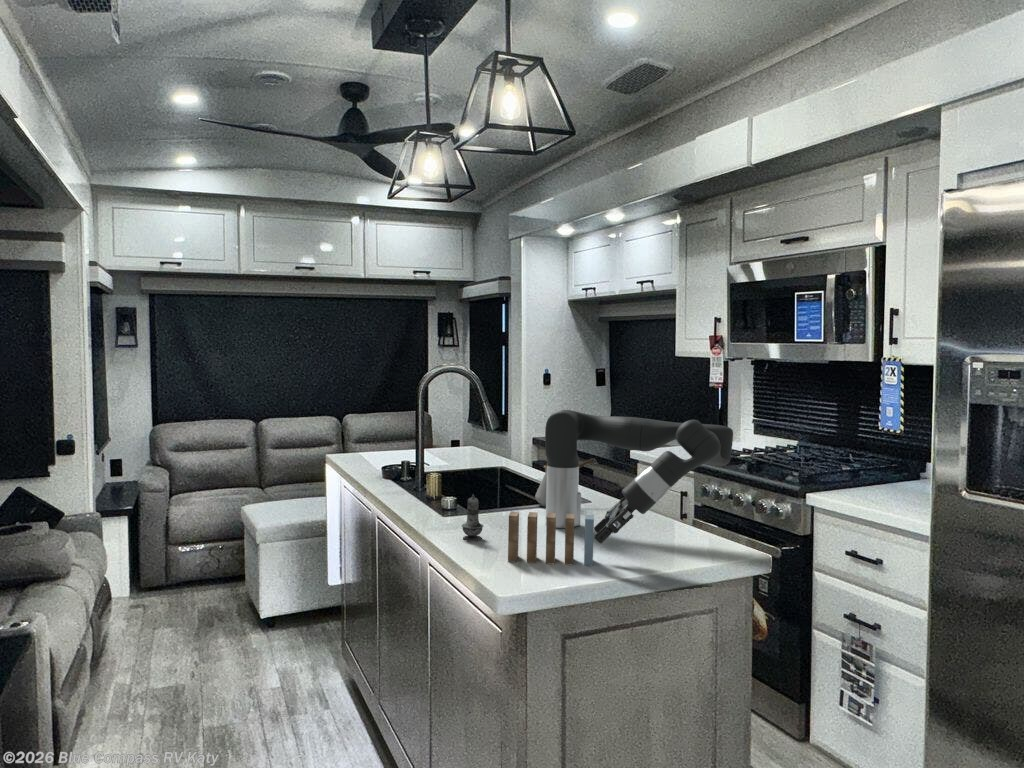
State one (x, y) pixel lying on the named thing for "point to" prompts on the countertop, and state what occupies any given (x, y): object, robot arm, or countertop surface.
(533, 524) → the domino
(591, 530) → the blue domino
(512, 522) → the domino
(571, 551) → the domino
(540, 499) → the coffee pot
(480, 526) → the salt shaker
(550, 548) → the domino
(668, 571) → the countertop surface
